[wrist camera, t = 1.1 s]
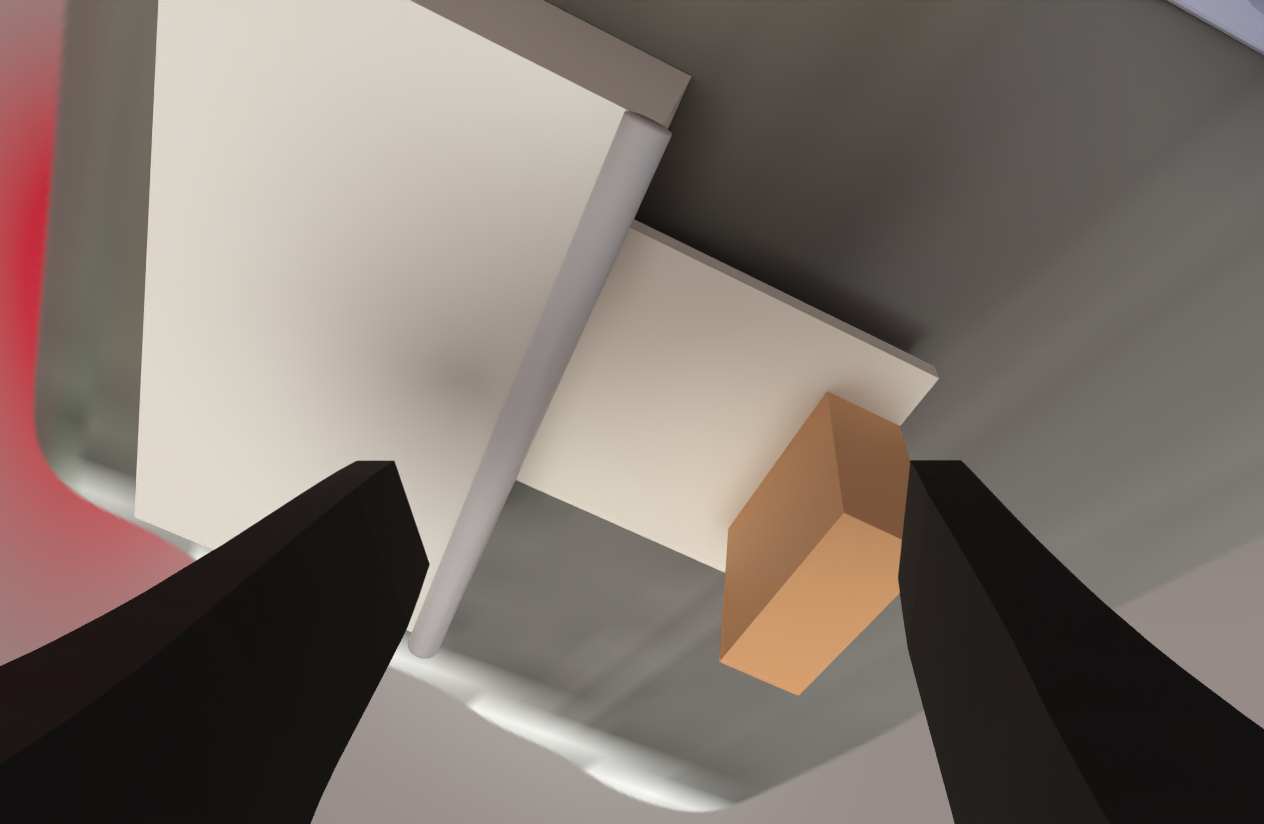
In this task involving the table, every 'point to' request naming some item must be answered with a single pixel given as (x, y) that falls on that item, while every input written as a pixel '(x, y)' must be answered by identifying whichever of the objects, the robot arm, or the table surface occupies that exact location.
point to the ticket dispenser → (377, 252)
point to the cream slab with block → (740, 447)
